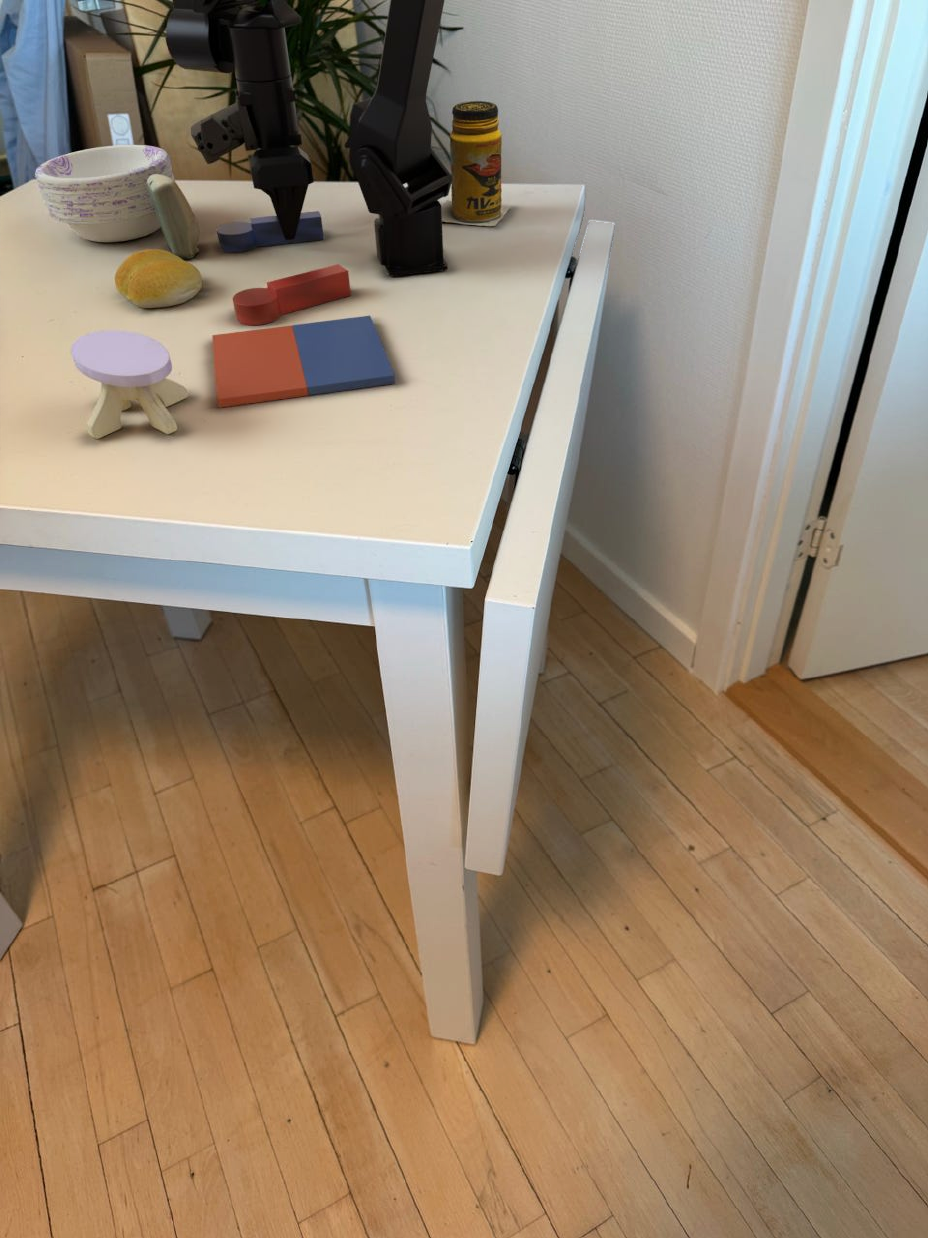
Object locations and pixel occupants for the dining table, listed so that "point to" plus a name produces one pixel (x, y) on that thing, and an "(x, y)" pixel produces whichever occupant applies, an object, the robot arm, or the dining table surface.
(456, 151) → the condiment
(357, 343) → the sorting board
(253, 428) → the dining table surface
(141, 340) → the toy table
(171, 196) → the green soap bar
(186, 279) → the bread roll
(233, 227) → the blue spoon
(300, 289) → the red spoon
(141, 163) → the paper bowls
